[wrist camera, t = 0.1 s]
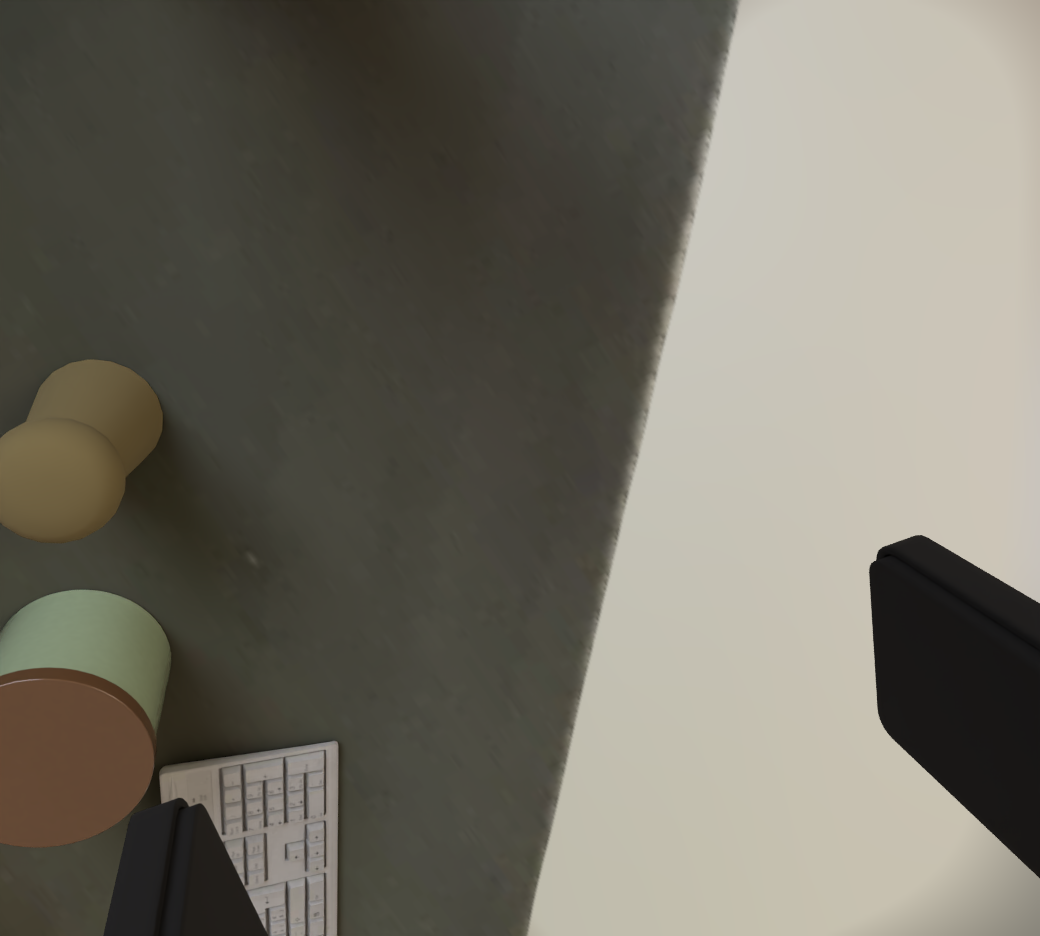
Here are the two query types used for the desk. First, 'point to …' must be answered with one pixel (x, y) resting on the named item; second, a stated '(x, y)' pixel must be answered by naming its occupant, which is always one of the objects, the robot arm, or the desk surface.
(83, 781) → the canister
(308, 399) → the desk surface
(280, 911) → the keyboard
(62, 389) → the brown tapered tall piece
